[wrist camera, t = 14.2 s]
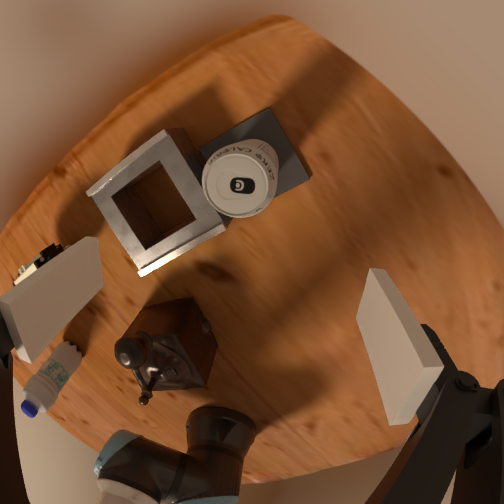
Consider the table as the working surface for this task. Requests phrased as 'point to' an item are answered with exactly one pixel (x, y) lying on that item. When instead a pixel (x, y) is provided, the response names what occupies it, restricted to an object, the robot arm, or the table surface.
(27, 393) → the bottle
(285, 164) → the mat
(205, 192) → the energy drink can
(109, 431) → the table surface
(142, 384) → the brown manual coffee grinder
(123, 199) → the housing
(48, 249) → the pneumatic valve
